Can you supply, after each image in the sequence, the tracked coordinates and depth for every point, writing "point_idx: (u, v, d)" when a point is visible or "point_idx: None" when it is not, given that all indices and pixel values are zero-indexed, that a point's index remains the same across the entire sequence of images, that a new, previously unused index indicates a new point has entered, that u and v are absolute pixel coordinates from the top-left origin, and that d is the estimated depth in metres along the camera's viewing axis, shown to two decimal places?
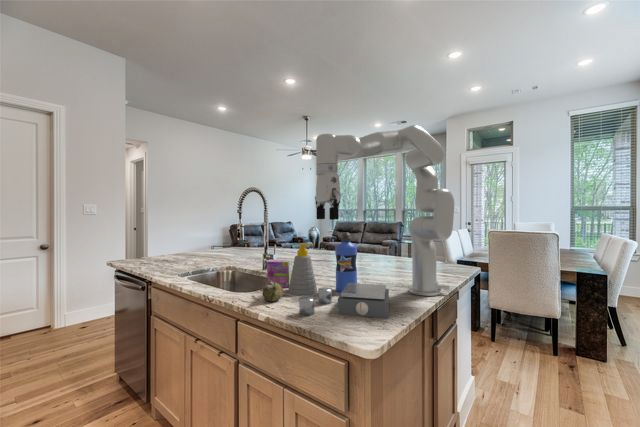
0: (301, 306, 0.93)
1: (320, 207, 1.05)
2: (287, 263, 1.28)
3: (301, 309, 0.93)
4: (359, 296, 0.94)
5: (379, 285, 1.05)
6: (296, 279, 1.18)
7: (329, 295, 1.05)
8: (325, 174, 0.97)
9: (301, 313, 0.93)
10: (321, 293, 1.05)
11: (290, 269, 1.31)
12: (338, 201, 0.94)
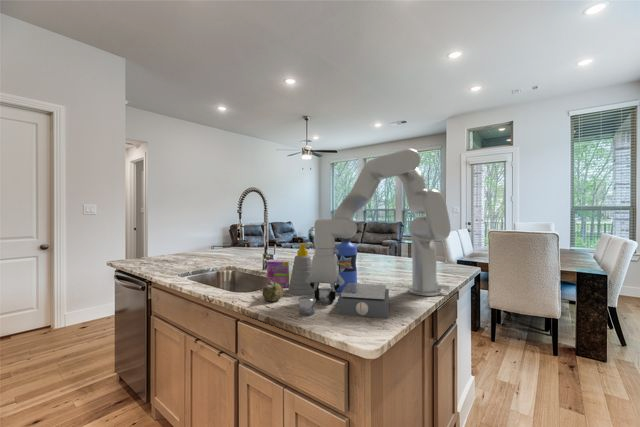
0: (301, 306, 0.93)
1: (318, 288, 1.07)
2: (287, 263, 1.28)
3: (301, 309, 0.93)
4: (359, 296, 0.94)
5: (379, 285, 1.05)
6: (296, 279, 1.18)
7: (329, 295, 1.05)
8: (331, 258, 1.04)
9: (301, 313, 0.93)
10: (321, 293, 1.05)
11: (290, 269, 1.31)
12: (339, 286, 1.06)
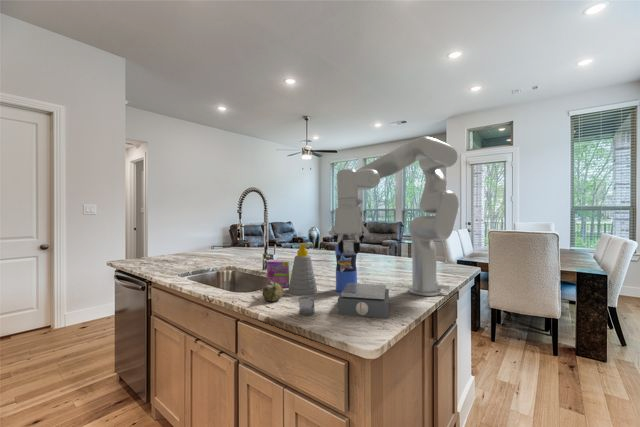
0: (301, 306, 0.93)
1: (341, 240, 1.06)
2: (287, 263, 1.28)
3: (301, 309, 0.93)
4: (359, 296, 0.94)
5: (379, 285, 1.05)
6: (296, 279, 1.18)
7: (353, 246, 1.03)
8: (355, 208, 1.02)
9: (301, 313, 0.93)
10: (345, 244, 1.03)
11: (290, 269, 1.31)
12: None
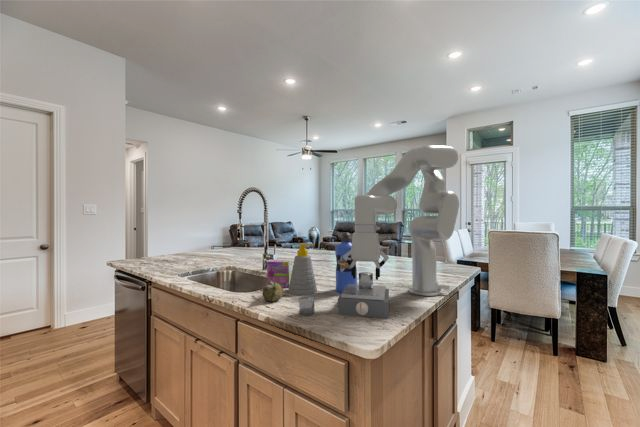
0: (301, 306, 0.93)
1: (354, 265, 1.04)
2: (287, 263, 1.28)
3: (301, 309, 0.93)
4: (359, 297, 0.94)
5: (379, 286, 1.05)
6: (296, 279, 1.18)
7: (371, 279, 1.02)
8: (373, 235, 1.01)
9: (301, 313, 0.93)
10: (363, 277, 1.02)
11: (290, 269, 1.31)
12: (384, 262, 1.02)
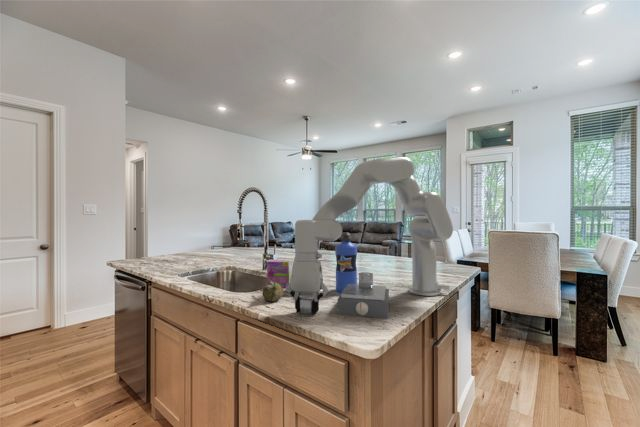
0: (301, 306, 0.93)
1: (299, 297, 0.96)
2: (287, 263, 1.28)
3: (301, 309, 0.93)
4: (359, 297, 0.94)
5: (379, 286, 1.05)
6: None
7: (371, 279, 1.02)
8: (313, 264, 0.92)
9: (301, 313, 0.93)
10: (363, 277, 1.02)
11: (290, 269, 1.31)
12: (323, 295, 0.94)
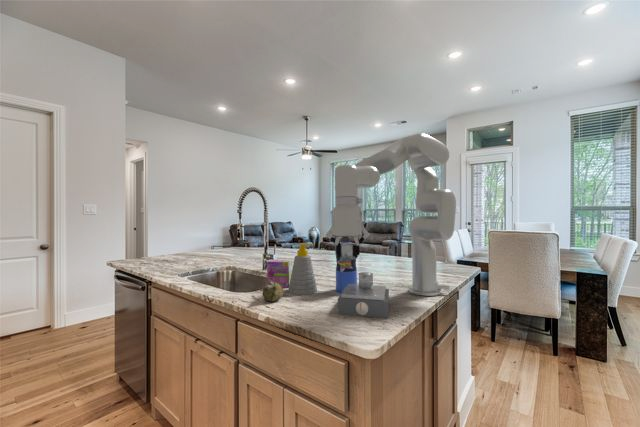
0: (342, 250, 0.94)
1: (339, 243, 0.97)
2: (287, 263, 1.28)
3: (343, 253, 0.94)
4: (359, 297, 0.94)
5: (379, 286, 1.05)
6: (296, 279, 1.18)
7: (371, 279, 1.02)
8: (354, 208, 0.93)
9: (343, 257, 0.94)
10: (363, 277, 1.02)
11: (290, 269, 1.31)
12: (364, 239, 0.95)
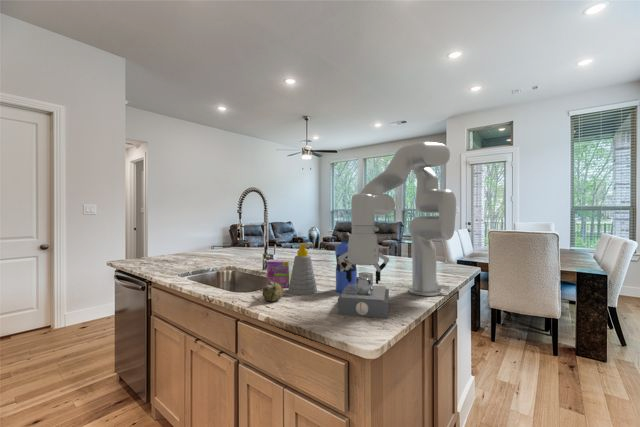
0: (359, 285, 0.95)
1: (350, 269, 0.97)
2: (287, 263, 1.28)
3: (359, 288, 0.95)
4: (359, 298, 0.94)
5: (379, 286, 1.05)
6: (296, 279, 1.18)
7: (371, 280, 1.02)
8: (371, 237, 0.94)
9: (359, 292, 0.95)
10: None
11: (290, 269, 1.31)
12: (385, 265, 0.95)
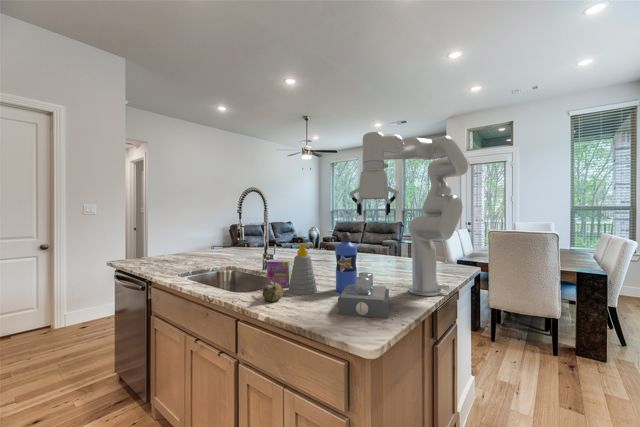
0: (359, 285, 0.95)
1: (360, 203, 1.04)
2: (287, 263, 1.28)
3: (359, 288, 0.95)
4: (359, 298, 0.94)
5: (379, 286, 1.05)
6: (296, 279, 1.18)
7: (371, 280, 1.02)
8: (381, 171, 1.00)
9: (359, 292, 0.95)
10: None
11: (290, 269, 1.31)
12: None
